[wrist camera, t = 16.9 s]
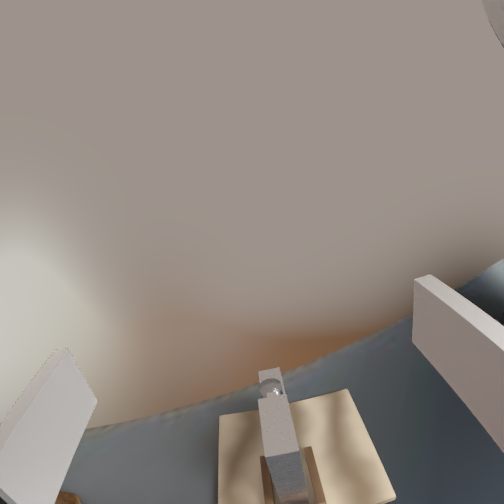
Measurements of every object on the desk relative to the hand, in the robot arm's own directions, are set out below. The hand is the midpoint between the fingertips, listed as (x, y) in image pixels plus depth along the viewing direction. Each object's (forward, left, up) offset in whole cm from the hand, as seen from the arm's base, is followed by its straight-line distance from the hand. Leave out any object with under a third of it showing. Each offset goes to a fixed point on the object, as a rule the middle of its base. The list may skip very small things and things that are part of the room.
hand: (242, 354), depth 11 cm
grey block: (0, -14, -29) cm, 32 cm away
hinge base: (-1, -16, -30) cm, 34 cm away
